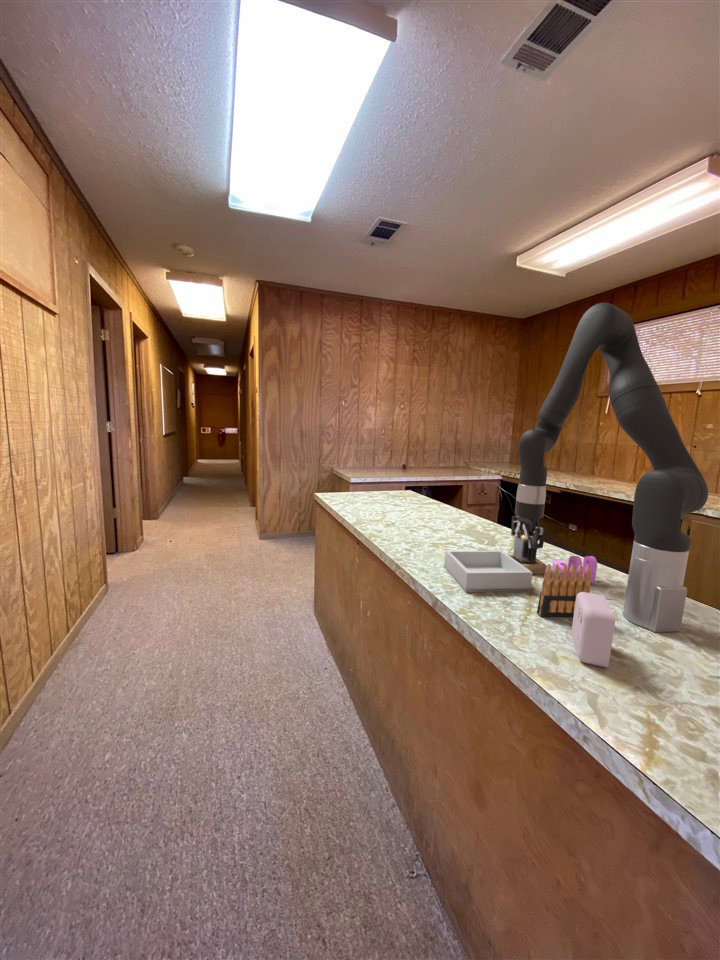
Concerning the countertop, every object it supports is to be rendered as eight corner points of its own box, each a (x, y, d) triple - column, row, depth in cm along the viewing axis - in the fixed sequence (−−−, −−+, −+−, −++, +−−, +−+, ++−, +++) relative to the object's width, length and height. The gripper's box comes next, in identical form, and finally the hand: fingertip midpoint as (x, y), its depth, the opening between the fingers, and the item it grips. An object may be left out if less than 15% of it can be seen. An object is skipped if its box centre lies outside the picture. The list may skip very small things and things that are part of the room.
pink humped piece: (594, 583, 102) (598, 559, 101) (574, 583, 102) (577, 558, 100) (566, 565, 115) (569, 543, 113) (548, 565, 114) (551, 542, 113)
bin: (530, 591, 95) (532, 572, 94) (465, 592, 93) (467, 573, 93) (500, 566, 111) (501, 550, 110) (444, 567, 109) (445, 550, 108)
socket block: (546, 574, 107) (547, 565, 106) (516, 574, 106) (517, 565, 105) (529, 562, 116) (530, 554, 115) (501, 562, 115) (501, 554, 114)
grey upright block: (534, 571, 109) (538, 538, 107) (519, 571, 108) (523, 538, 107) (526, 565, 113) (529, 533, 112) (512, 565, 113) (515, 533, 111)
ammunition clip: (583, 614, 85) (590, 563, 83) (588, 618, 83) (595, 566, 81) (536, 613, 84) (542, 562, 82) (540, 617, 82) (547, 565, 80)
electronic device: (568, 635, 76) (574, 588, 74) (595, 640, 74) (602, 592, 73) (576, 664, 67) (584, 611, 65) (607, 671, 65) (616, 617, 63)
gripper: (558, 506, 101) (551, 565, 103) (529, 495, 115) (523, 547, 118) (532, 505, 100) (525, 565, 103) (505, 494, 114) (500, 548, 117)
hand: (524, 556), depth 110 cm, fingers open, 6 cm apart
